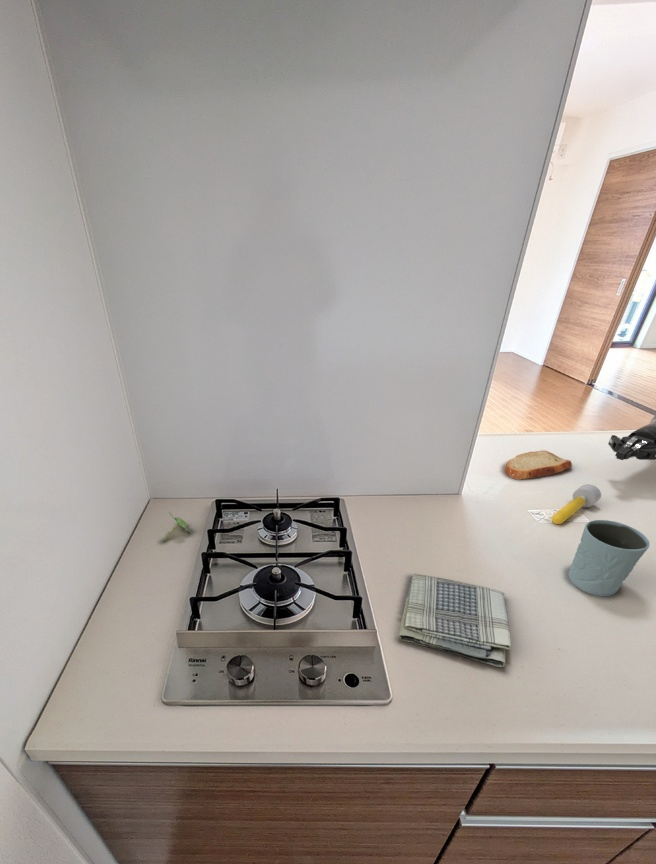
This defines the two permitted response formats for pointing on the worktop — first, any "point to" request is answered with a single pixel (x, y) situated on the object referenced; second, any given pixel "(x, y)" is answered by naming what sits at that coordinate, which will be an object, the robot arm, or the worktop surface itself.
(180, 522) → the green hummingbird figurine
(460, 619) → the dish towel
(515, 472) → the bread slice
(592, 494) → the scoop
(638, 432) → the robot arm
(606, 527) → the blue-green plant pot
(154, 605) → the worktop surface
